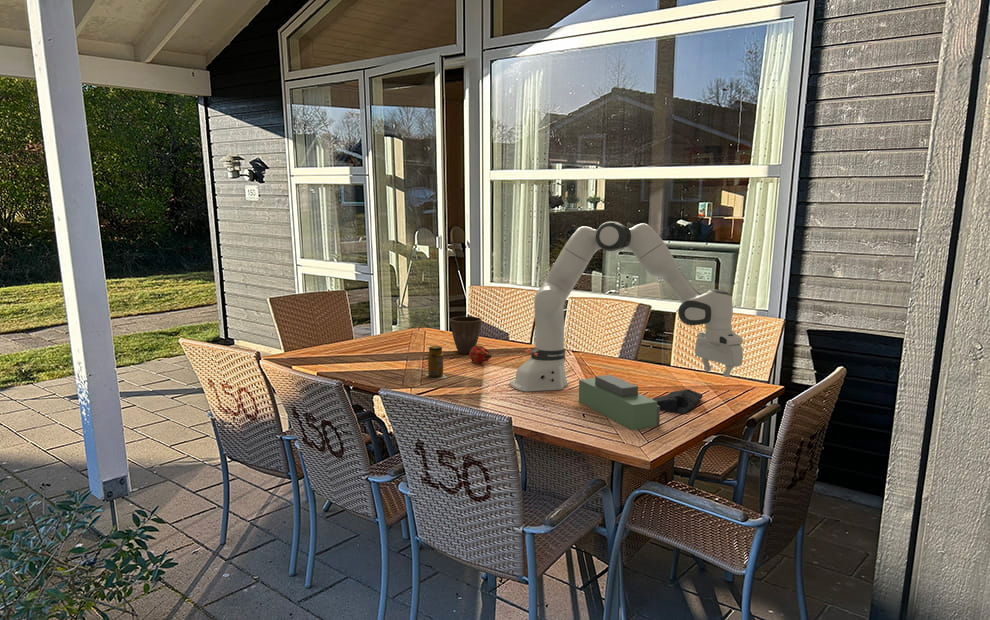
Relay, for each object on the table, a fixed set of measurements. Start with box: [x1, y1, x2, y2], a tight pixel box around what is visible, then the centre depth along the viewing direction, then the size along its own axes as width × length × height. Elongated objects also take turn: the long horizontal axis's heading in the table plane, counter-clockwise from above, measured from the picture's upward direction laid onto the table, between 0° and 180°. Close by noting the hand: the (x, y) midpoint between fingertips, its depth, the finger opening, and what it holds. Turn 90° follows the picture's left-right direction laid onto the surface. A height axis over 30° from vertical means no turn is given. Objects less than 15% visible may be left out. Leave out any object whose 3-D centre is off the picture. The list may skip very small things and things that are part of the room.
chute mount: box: [578, 374, 661, 431], centre depth 212 cm, size 11×32×11 cm, turn 23°
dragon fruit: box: [467, 344, 492, 365], centre depth 282 cm, size 8×8×12 cm
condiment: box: [424, 345, 448, 380], centre depth 259 cm, size 7×8×12 cm
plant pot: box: [449, 316, 483, 355], centre depth 303 cm, size 15×15×16 cm
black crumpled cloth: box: [651, 388, 703, 415], centre depth 224 cm, size 15×22×5 cm
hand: (716, 373), depth 228 cm, fingers open, 8 cm apart
